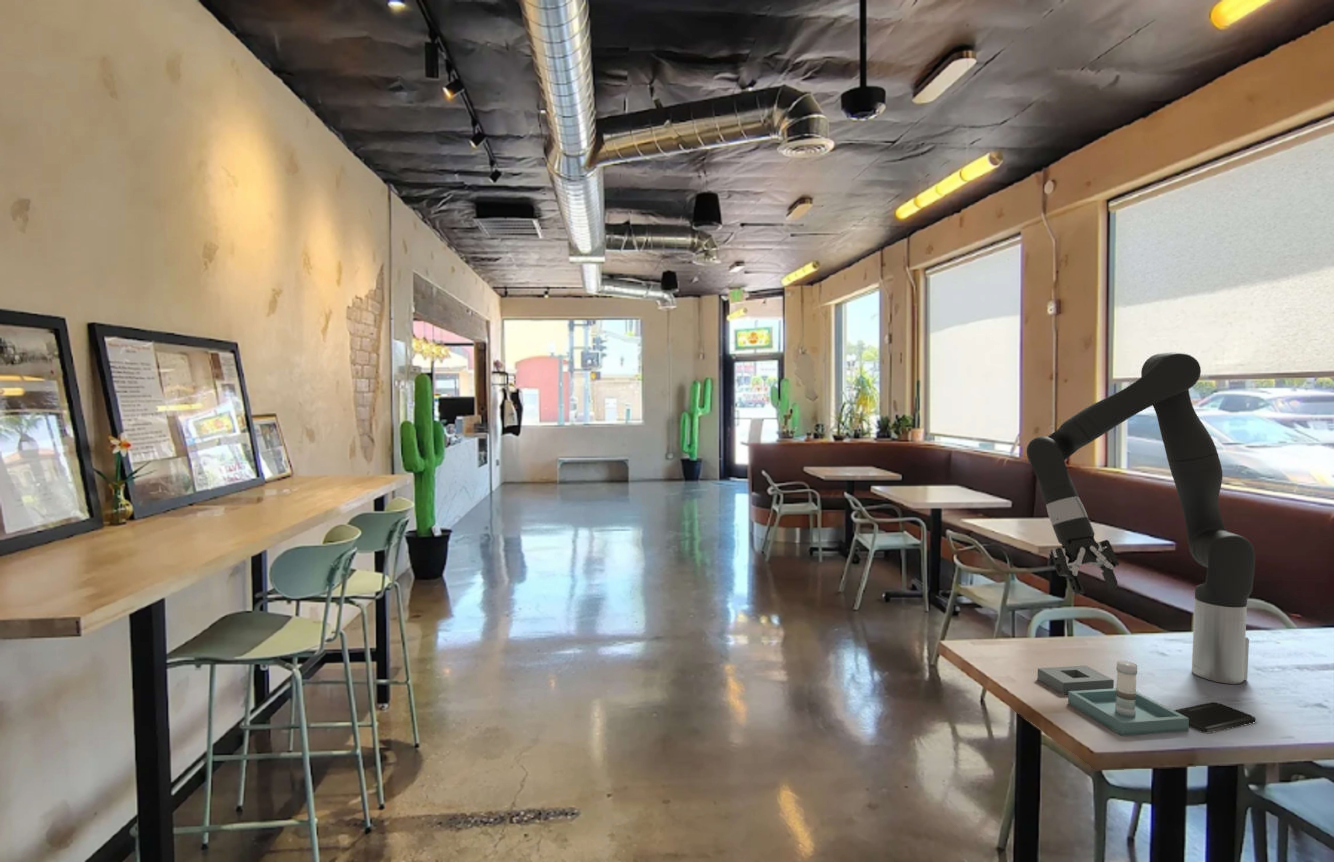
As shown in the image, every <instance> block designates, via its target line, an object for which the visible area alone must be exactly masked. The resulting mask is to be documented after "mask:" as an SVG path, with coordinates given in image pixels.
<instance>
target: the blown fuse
mask: <svg viewBox="0 0 1334 862" xmlns="http://www.w3.org/2000/svg"><path fill="white" fill-rule="evenodd" d="M1137 674H1138V664H1137V663H1135V662H1132V661H1128V660H1117V661H1116V685H1115V686H1116V687H1115V688H1116V703H1115V712H1116V713H1117V714H1119V715H1121V716H1124V717H1135V716H1136V707H1135V702H1136V691H1137Z"/></svg>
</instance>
